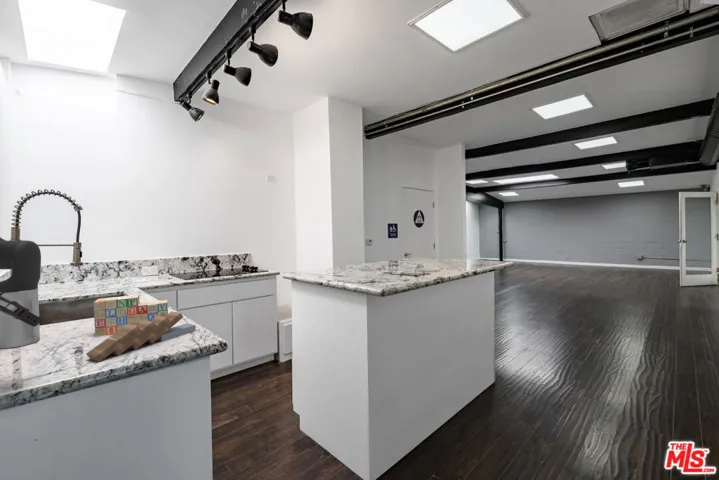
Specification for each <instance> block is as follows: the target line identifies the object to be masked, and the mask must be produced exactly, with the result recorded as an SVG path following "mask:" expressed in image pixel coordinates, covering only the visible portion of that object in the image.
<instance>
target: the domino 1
mask: <svg viewBox="0 0 719 480" xmlns="http://www.w3.org/2000/svg"><path fill="white" fill-rule="evenodd" d="M140 331H141V330H140V329H139V327H138V326H136V325H131V324H127V325H126V326H124V327H123V328H122V329H120V330H119V331H117V332H116V333H114V334H112V335H109V337H107V338H106V339H104V340H103V341H101V342H100V343H99V344H97V345H96V346H95V347H94V348H91V350H89V351H88V352H86V356H87V357H88V358H89V359H90V360H93V361H96V362H99V363H100V362H101V361H103V360H104V359H106V358H107V357H108V356H110V354H111V353H112V352H113V351H115V350H116V349H117V348H119V347H120V346H121V345H123V344H124V343H125V342H127V341H128V340H129V339H131V338H132V337H133V336H135V335H136V334H137V333H139V332H140ZM111 355H112V354H111Z"/></svg>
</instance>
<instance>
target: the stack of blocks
mask: <svg viewBox="0 0 719 480" xmlns="http://www.w3.org/2000/svg"><path fill="white" fill-rule="evenodd" d="M167 314H169V301H168V299H164V300H163V299H162V300H152V301H143V302H140V294H133V295H123V296H112V297H103V298H97V299H96V300H95V301H93V319H94V320H93V321H94V336H95V338H97V337H102V336H112V335H113V334H114V333H116V332H117V331H119V330H120V329H122V328H123V327H124V326H126V325H127V324H131V325H137V324H138V323H140V322H141V321H143V320H147V321H151V320H153V319H154V318H155V317H156V316H164V317H165V316H166V315H167Z"/></svg>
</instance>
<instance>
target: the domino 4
mask: <svg viewBox="0 0 719 480" xmlns="http://www.w3.org/2000/svg"><path fill="white" fill-rule="evenodd" d="M165 317H167V318H168V319H169V321H170V322H169V323H168V324H167V325H165V326H164V327H163V328H162V329H161V330H159V331H158V332H157V333H156V334H155V335H153V336H152V337H151V338H150V339H149V340H147V341H146V342H145V343H148V344H149V343H150V344H154V343H156V341H158V340H157V339H158V338H160V337H161V336H162V335H163V334H164V333H165V332H167V331H168V330H169V329H170V328H172V327H175V325H176V324H178V322H180V321H181V320H182V319H183V318H184V316H183V314H182V313H181V312H178V311H172V310H171V311H170V312H168V314H167V315H166V316H165Z"/></svg>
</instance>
